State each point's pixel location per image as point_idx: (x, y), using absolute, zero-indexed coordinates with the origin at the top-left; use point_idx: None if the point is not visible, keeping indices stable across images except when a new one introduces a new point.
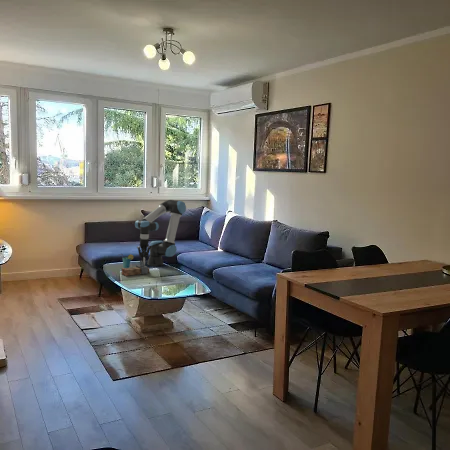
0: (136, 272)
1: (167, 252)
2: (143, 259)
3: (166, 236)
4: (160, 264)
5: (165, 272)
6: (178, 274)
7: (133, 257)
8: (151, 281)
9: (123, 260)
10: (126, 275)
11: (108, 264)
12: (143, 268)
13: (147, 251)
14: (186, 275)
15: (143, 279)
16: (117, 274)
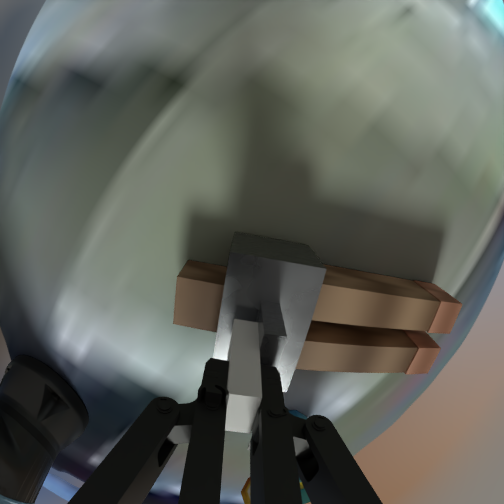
0: (355, 276)
1: None
2: (260, 380)
3: None
4: (24, 361)
5: (59, 189)
6: (34, 85)
7: (247, 489)
8: (372, 22)
9: None
10: (428, 283)
11: None
12: (297, 259)
13: (131, 498)
14: (25, 46)
15: (395, 102)
16: None
